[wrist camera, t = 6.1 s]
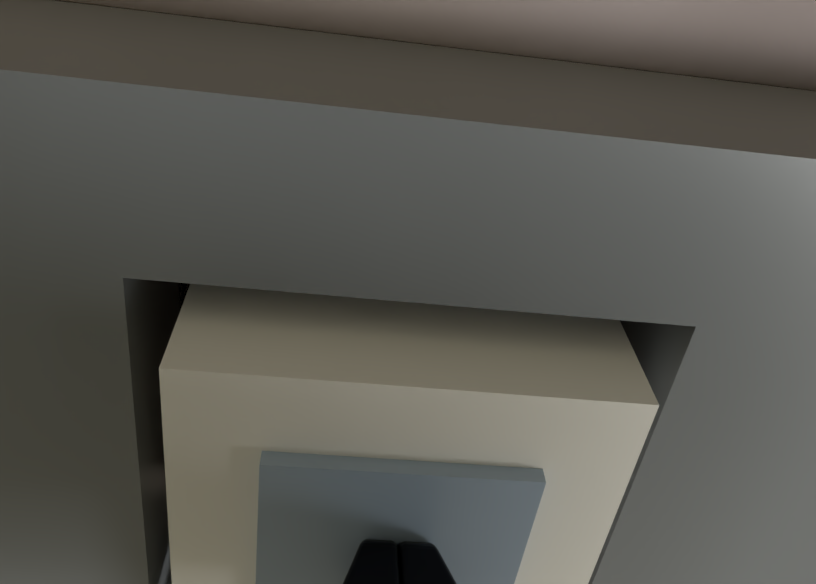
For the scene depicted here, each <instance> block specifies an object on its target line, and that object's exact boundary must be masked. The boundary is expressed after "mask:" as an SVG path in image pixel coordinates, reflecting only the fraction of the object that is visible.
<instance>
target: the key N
mask: <svg viewBox="0 0 816 584" xmlns="http://www.w3.org/2000/svg"><path fill="white" fill-rule="evenodd" d="M159 380H160V396H161V413H162V430H163V446H164V463H165V480H166V497H167V513H168V530H169V547H170V563H171V580H172V584H343V582H344V580H345V577H346V575H347V573H348V570H349V568H350V566H351V563H352V561H353V559H354V556H355V554H356V552H357V549H358V547H359V545H360V543H361V542H362V541H363V540H365V539H376V540H392V541H394V542H395V543H396V544H397V546H398V545H399V543H401V542H403V541H412V542H429V543H432V544H433V545H435V546H436V548H437V549H438V551H439V552H440V554H441V556H442V558H443V560H444V561H445V563H446V565H447V567H448V569H449V571H450V573H451V574H452V576H453V578H454V580H455V582H456V584H588V583H589V580H590V578H591V575H592V573H593V570H594V568H595V565H596V563H597V560H598V558H599V555H600V553H601V550H602V548H603V545H604V543H605V540H606V538H607V535H608V533H609V530H610V528H611V525H612V523H613V520H614V518H615V515H616V513H617V510H618V508H619V505H620V503H621V500H622V498H623V495H624V493H625V490H626V488H627V485H628V483H629V480H630V478H631V475H632V473H633V470H634V468H635V465H636V463H637V460H638V458H639V455H640V453H641V450H642V448H643V445H644V443H645V440H646V438H647V435H648V433H649V430H650V428H651V425H652V423H653V420H654V418H655V415H656V413H657V410H658V408H659V403H658V401H657V399H656V397H655V395H654V393H653V391H652V388H651V386H650V384H649V382H648V380H647V378H646V376H645V373H644V371H643V369H642V367H641V365H640V363H639V361H638V359H637V356H636V354H635V352H634V350H633V348H632V346H631V344H630V341H629V339H628V337H627V335H626V333H625V331H624V329H623V326H622V324H621V322H620V320H611V319H600V318H588V317H576V316H565V315H553V314H541V313H529V312H518V311H506V310H494V309H482V308H471V307H459V306H447V305H435V304H424V303H412V302H400V301H388V300H377V299H365V298H353V297H341V296H330V295H318V294H306V293H294V292H283V291H271V290H259V289H247V288H236V287H224V286H212V285H200V284H190V286H189V289H188V291H187V294H186V297H185V299H184V302H183V305H182V307H181V310H180V313H179V315H178V318H177V321H176V323H175V326H174V329H173V332H172V334H171V337H170V340H169V342H168V345H167V348H166V350H165V353H164V356H163V358H162V361H161V364H160V366H159Z"/></svg>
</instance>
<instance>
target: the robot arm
mask: <svg viewBox="0 0 816 584" xmlns="http://www.w3.org/2000/svg"><path fill="white" fill-rule="evenodd" d="M343 584H456V582H455V580H454V578H453V576H452V574H451V573H450V571H449V569H448V567H447V565H446V563H445V561H444V560H443V558H442V556H441V554H440V552H439V551H438V549H437V548H436V546H435V545H433V544H432V543H429V542H412V541H403V542H401V543H399V545H398V546H397V544H396V543H395V542H394V541H392V540H376V539H365V540H363V541H362V542H361V543H360V545H359V547H358V549H357V552H356V554H355V556H354V559H353V561H352V563H351V566H350V568H349V570H348V573H347V575H346V577H345V580H344V582H343Z"/></svg>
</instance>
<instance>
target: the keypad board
mask: <svg viewBox="0 0 816 584" xmlns="http://www.w3.org/2000/svg"><path fill="white" fill-rule="evenodd" d="M179 283H189V284H200V285H212V286H224V287H236V288H247V289H259V290H271V291H283V292H294V293H306V294H318V295H330V296H341V297H353V298H365V299H377V300H388V301H400V302H412V303H424V304H435V305H447V306H459V307H471V308H482V309H494V310H506V311H518V312H529V313H541V314H553V315H565V316H576V317H588V318H600V319H611V320H620V322H621V324H622V326H623V329H624V331H625V333H626V335H627V337H628V339H629V341H630V344H631V346H632V348H633V350H634V352H635V354H636V356H637V359H638V361H639V363H640V365H641V367H642V369H643V371H644V373H645V376H646V378H647V380H648V382H649V384H650V386H651V388H652V391H653V393H654V395H655V397H656V399H657V401H658V403H659V408H658V410H657V413H656V415H655V418H654V420H653V423H652V425H651V428H650V430H649V433H648V435H647V438H646V440H645V443H644V445H643V448H642V450H641V453H640V455H639V458H638V460H637V463H636V465H635V468H634V470H633V473H632V475H631V478H630V480H629V483H628V485H627V488H626V490H625V493H624V495H623V498H622V500H621V503H620V505H619V508H618V510H617V513H616V515H615V518H614V520H613V523H612V525H611V528H610V530H609V533H608V535H607V538H606V540H605V543H604V545H603V548H602V550H601V553H600V555H599V558H598V560H597V563H596V565H595V568H594V570H593V573H592V575H591V578H590V580H589V583H588V584H816V91H809V90H800V89H792V88H784V87H775V86H767V85H759V84H750V83H742V82H733V81H725V80H717V79H708V78H700V77H692V76H683V75H675V74H666V73H658V72H650V71H641V70H633V69H625V68H616V67H608V66H600V65H591V64H583V63H574V62H566V61H558V60H549V59H541V58H533V57H524V56H516V55H507V54H499V53H491V52H482V51H474V50H466V49H457V48H449V47H441V46H432V45H424V44H415V43H407V42H399V41H390V40H382V39H374V38H365V37H357V36H348V35H340V34H332V33H323V32H315V31H307V30H298V29H290V28H282V27H273V26H265V25H256V24H248V23H240V22H231V21H223V20H215V19H206V18H198V17H189V16H181V15H173V14H164V13H156V12H148V11H139V10H131V9H123V8H114V7H106V6H97V5H89V4H81V3H72V2H64V1H56V0H0V584H172V580H171V563H170V547H169V530H168V513H167V497H166V480H165V463H164V446H163V430H162V413H161V396H160V380H159V366H160V364H161V361H162V358H163V356H164V353H165V350H166V348H167V345H168V342H169V340H170V337H171V334H172V332H173V329H174V326H175V323H176V321H177V318H178V315H179V313H180V298H179Z"/></svg>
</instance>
